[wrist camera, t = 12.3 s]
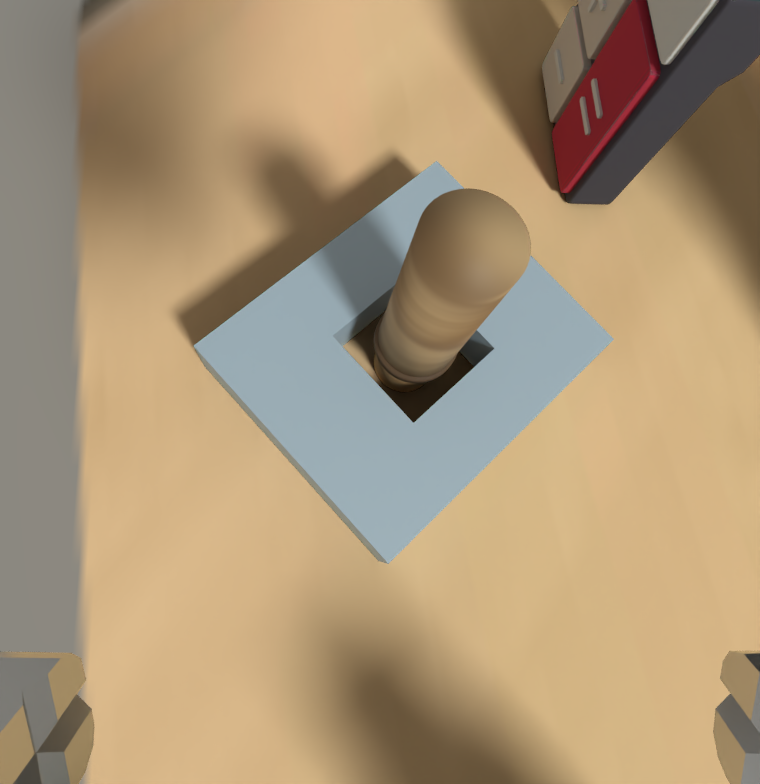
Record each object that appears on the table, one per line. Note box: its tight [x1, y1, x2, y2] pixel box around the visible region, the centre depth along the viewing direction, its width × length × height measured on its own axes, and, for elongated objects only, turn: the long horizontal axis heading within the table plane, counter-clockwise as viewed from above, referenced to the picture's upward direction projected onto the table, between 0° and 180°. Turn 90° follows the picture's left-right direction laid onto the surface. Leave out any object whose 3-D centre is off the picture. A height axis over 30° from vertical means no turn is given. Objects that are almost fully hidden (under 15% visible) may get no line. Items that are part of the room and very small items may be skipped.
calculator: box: [542, 0, 760, 204], centre depth 31 cm, size 11×4×15 cm, turn 3°
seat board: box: [194, 161, 614, 564], centre depth 31 cm, size 17×14×4 cm
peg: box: [374, 189, 531, 392], centre depth 26 cm, size 4×4×14 cm
